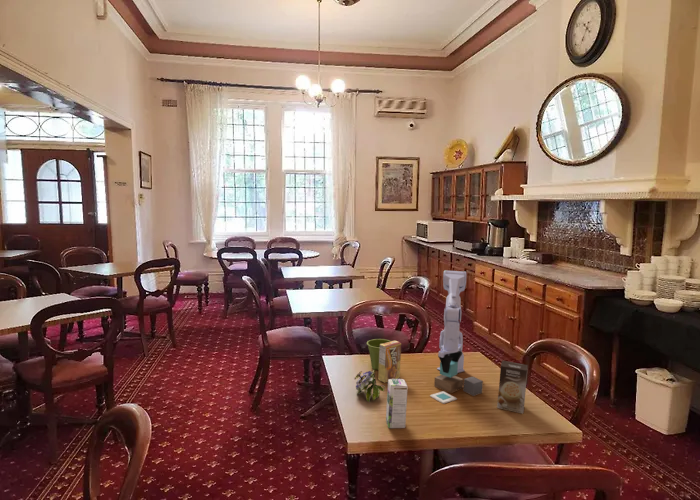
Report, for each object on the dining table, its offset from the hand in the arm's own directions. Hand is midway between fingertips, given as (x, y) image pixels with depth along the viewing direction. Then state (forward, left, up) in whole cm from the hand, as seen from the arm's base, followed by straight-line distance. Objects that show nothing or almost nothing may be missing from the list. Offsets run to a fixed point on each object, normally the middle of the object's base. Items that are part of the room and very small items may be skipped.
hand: (449, 370), depth 174 cm
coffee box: (-7, +24, -7) cm, 26 cm away
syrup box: (+37, +12, -7) cm, 40 cm away
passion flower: (+32, -10, -7) cm, 34 cm away
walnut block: (0, 0, -7) cm, 7 cm away
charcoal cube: (-5, +8, -7) cm, 12 cm away
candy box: (+16, -18, -7) cm, 25 cm away
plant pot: (+12, -30, -7) cm, 33 cm away
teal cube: (0, 0, -2) cm, 2 cm away
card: (+9, +6, -7) cm, 13 cm away
